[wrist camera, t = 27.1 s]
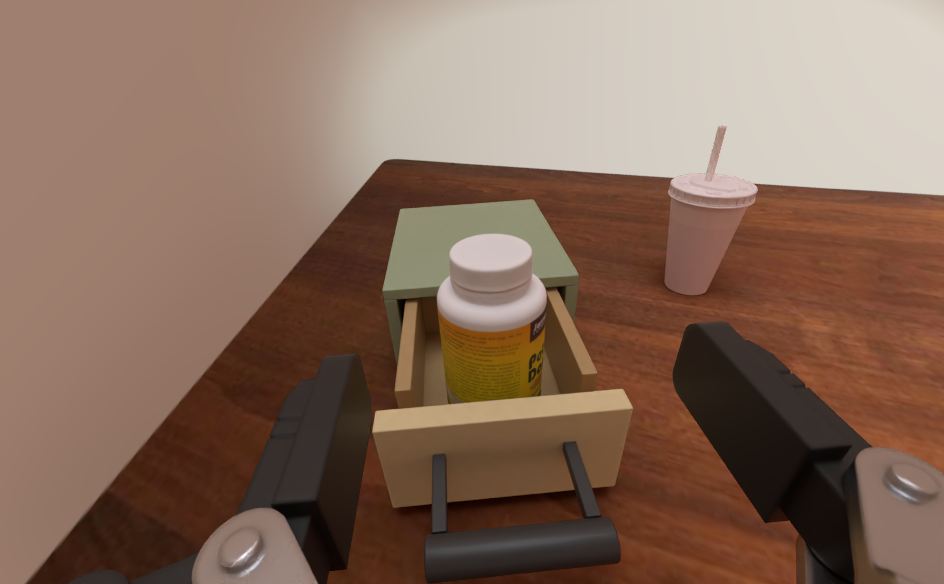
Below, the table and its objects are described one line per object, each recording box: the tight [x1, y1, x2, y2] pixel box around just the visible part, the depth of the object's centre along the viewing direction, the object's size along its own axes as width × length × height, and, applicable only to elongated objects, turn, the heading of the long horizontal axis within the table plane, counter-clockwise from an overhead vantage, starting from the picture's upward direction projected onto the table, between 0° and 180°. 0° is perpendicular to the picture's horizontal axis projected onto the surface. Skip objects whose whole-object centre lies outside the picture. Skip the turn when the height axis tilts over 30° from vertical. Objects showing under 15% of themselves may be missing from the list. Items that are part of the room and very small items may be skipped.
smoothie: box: [664, 126, 758, 295], centre depth 34 cm, size 6×6×14 cm
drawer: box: [372, 287, 633, 583], centre depth 23 cm, size 18×11×6 cm, turn 4°
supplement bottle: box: [437, 234, 547, 404], centre depth 22 cm, size 6×6×10 cm
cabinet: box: [382, 200, 579, 367], centre depth 34 cm, size 15×13×8 cm
